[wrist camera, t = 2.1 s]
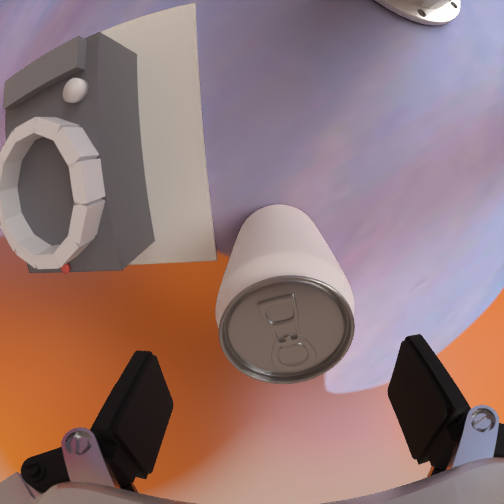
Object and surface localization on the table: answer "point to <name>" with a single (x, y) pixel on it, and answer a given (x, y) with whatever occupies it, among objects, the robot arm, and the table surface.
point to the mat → (171, 134)
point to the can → (283, 300)
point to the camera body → (75, 160)
